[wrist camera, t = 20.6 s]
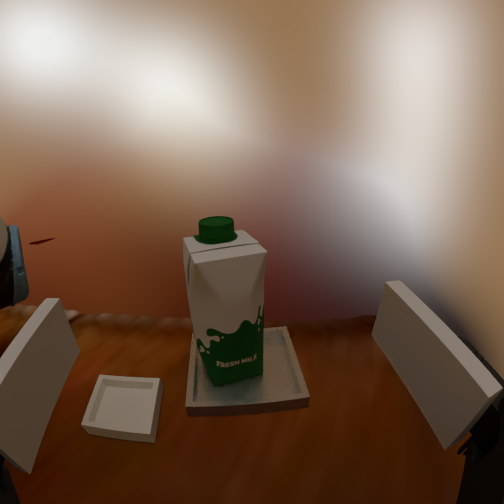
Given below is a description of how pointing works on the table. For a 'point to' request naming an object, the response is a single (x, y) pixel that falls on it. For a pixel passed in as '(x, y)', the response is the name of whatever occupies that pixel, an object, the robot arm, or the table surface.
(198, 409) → the shallow grey tray
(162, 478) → the table surface
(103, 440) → the table surface
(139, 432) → the small square white tray
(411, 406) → the table surface
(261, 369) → the milk carton
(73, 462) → the table surface
